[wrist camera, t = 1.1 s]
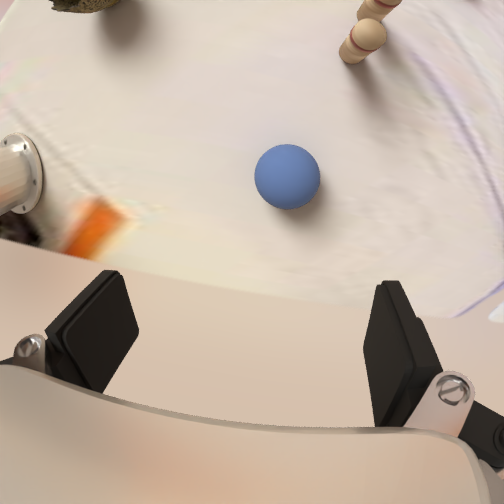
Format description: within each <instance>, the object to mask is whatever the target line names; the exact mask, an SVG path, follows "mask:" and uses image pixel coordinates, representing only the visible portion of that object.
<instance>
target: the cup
mask: <svg viewBox="0 0 504 504" xmlns="http://www.w3.org/2000/svg"><path fill="white" fill-rule="evenodd" d="M49 1H52V2H53V3H54V4H53V5H54V6H53V7H51V9H53V10H57V11H63V12H73V13H93V12H97V11H99V10H102V9H104V8H108V7H111V6H113V5H115V4H116V3H117V2H118V1H119V0H49Z"/></svg>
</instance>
